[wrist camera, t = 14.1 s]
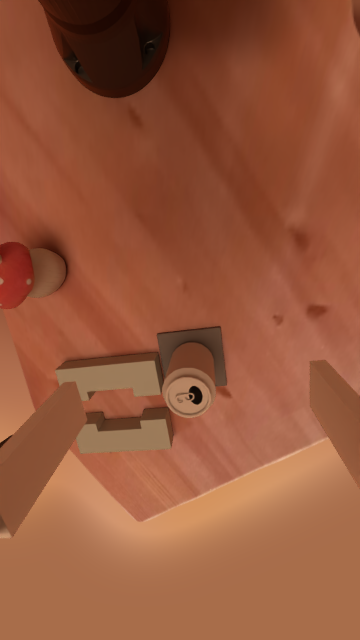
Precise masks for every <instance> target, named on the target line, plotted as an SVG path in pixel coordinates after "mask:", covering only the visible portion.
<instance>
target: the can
mask: <svg viewBox="0 0 360 640" xmlns="http://www.w3.org/2000/svg"><path fill="white" fill-rule="evenodd" d="M162 392H163V397H164V399H165V402H166V403H167V405H168V407H169V408H170V409H171V411H172V412H174V413H175V414H177V415H179V416H182V417H185V418H194V417H197V416H200V415H202V414H203V413H205V412H206V411H207V410H208V409H209V408H210V406H211V405H212V404H213V402H214V400H215V397H216V386H215V372H214V359H213V356H212V354H211V352H210V351H209V350H208V348H206V347H205V346H203V345H202V344H198V343H195V342H194V343H185V344H182V345H180V346H179V347H178V348H176V349H175V351H174V352H173V354H172V357H171V360H170V364H169V367H168V370H167V374H166V377H165V380H164V384H163V387H162Z"/></svg>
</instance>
